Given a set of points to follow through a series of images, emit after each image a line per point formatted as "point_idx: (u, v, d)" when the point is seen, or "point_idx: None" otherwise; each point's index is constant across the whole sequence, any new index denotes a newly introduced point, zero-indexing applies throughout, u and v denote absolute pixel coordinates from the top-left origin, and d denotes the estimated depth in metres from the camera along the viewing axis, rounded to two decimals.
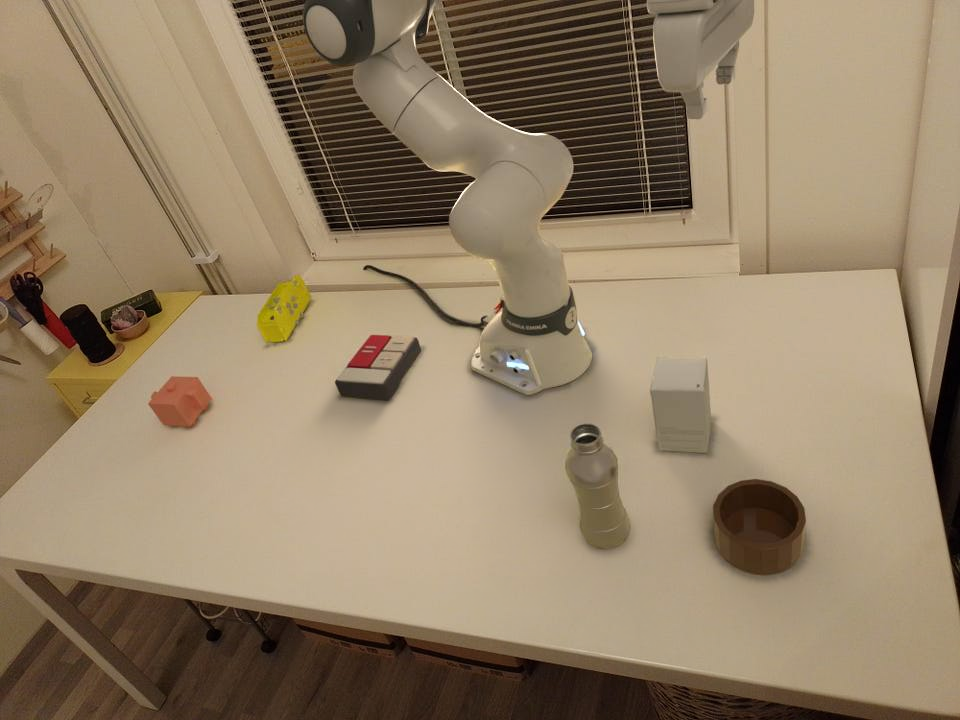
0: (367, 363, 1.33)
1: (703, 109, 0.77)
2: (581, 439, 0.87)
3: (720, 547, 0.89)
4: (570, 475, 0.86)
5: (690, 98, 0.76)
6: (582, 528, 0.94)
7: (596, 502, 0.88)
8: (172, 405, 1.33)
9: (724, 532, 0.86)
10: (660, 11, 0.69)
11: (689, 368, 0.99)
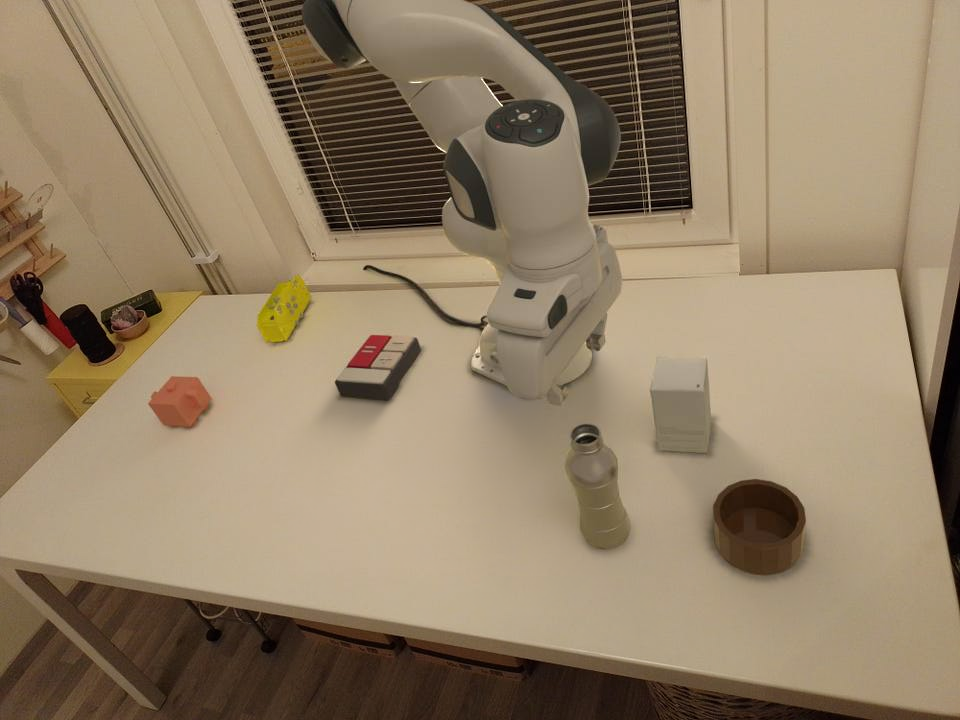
0: (367, 363, 1.33)
1: (562, 398, 0.75)
2: (581, 439, 0.87)
3: (720, 547, 0.89)
4: (570, 475, 0.86)
5: None
6: (582, 528, 0.94)
7: (596, 502, 0.88)
8: (172, 405, 1.33)
9: (724, 532, 0.86)
10: (501, 329, 0.67)
11: (689, 368, 0.99)
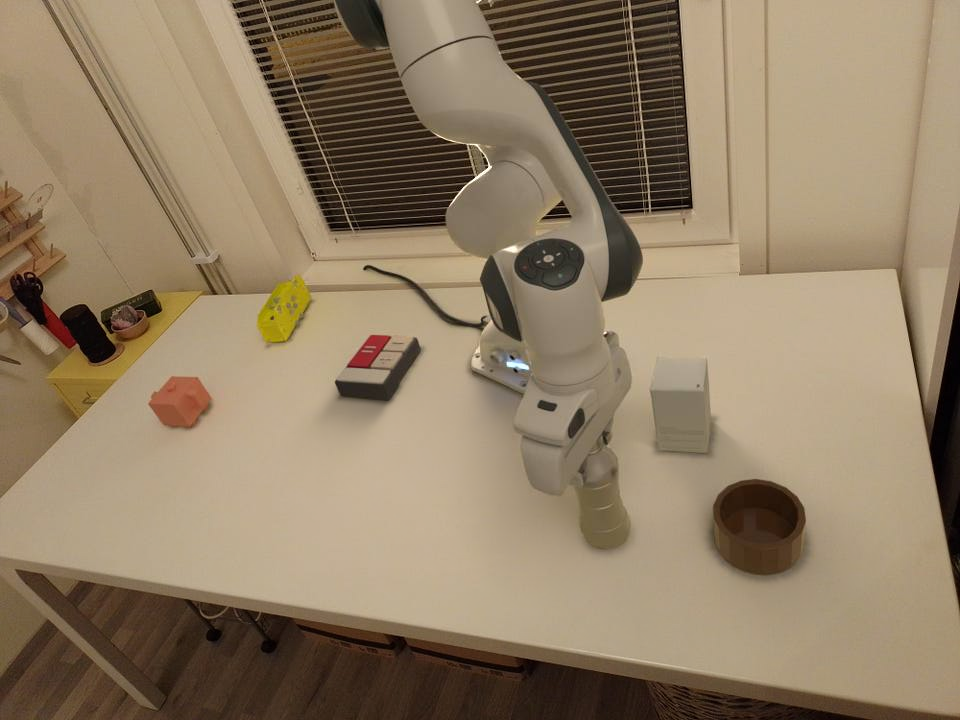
0: (367, 363, 1.33)
1: (582, 481, 0.83)
2: None
3: (720, 547, 0.89)
4: None
5: None
6: (582, 528, 0.94)
7: (597, 503, 0.88)
8: (172, 405, 1.33)
9: (724, 532, 0.86)
10: (525, 436, 0.75)
11: (689, 368, 0.99)
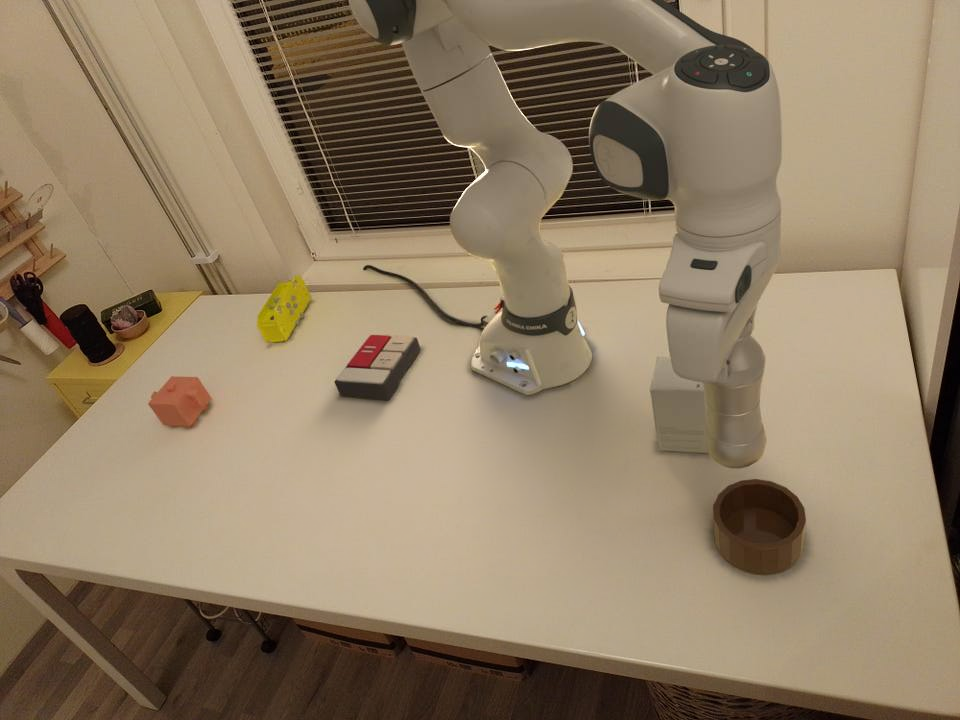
0: (366, 363, 1.33)
1: (727, 375, 0.69)
2: None
3: (720, 547, 0.89)
4: None
5: None
6: (709, 444, 0.79)
7: (736, 407, 0.73)
8: (172, 405, 1.33)
9: (724, 532, 0.86)
10: (674, 304, 0.60)
11: None
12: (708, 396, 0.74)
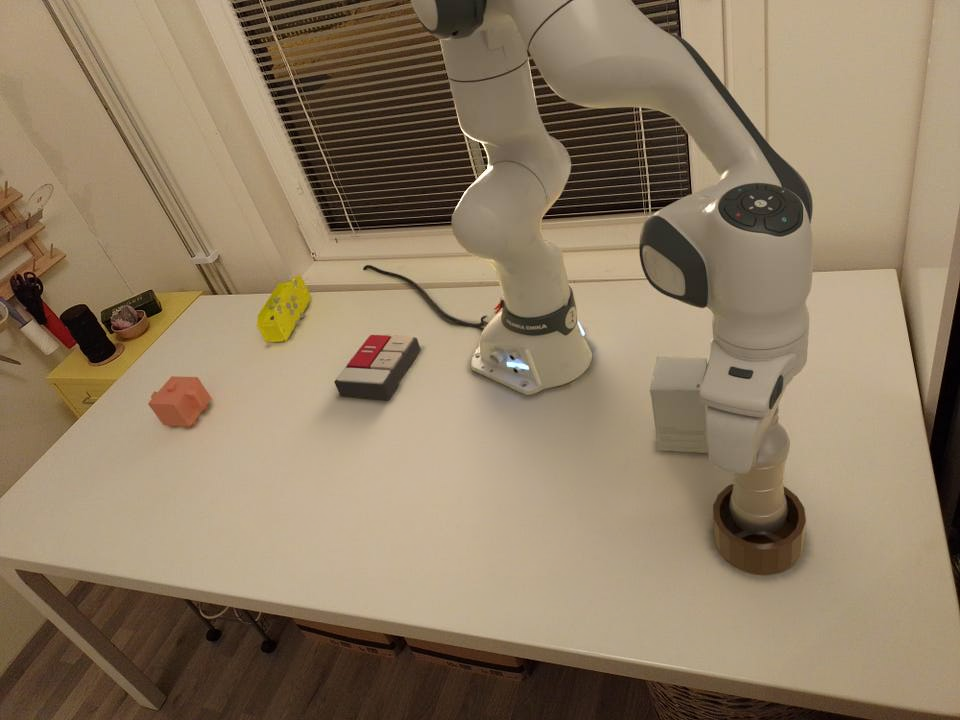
0: (366, 363, 1.33)
1: (756, 459, 0.76)
2: None
3: (720, 547, 0.89)
4: None
5: None
6: (736, 513, 0.86)
7: (762, 484, 0.80)
8: (172, 405, 1.33)
9: (724, 532, 0.86)
10: (713, 407, 0.67)
11: (689, 368, 0.99)
12: None
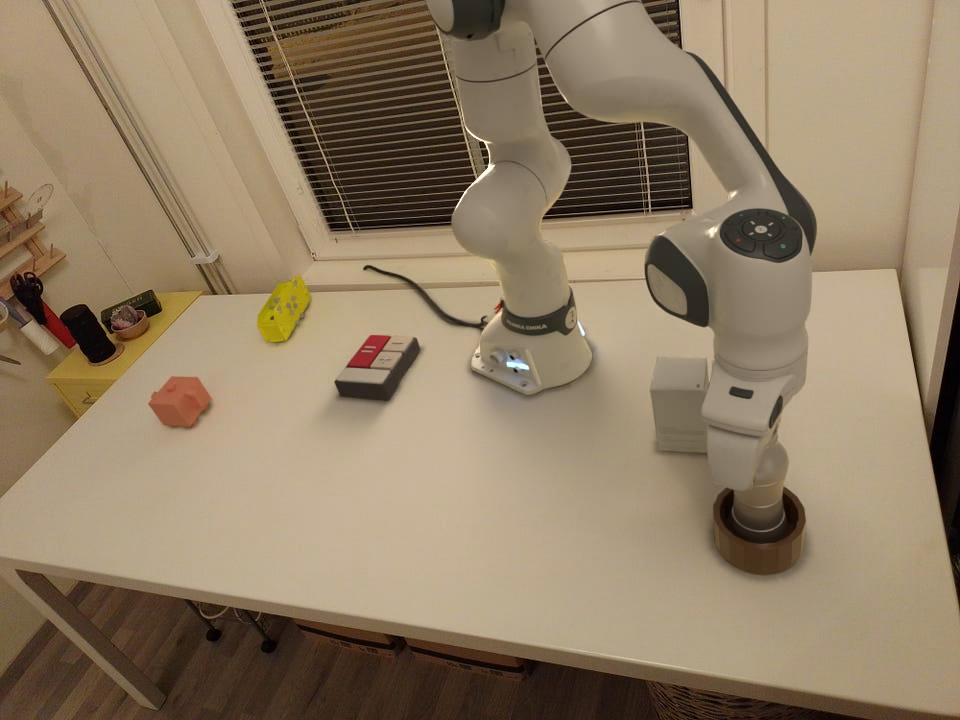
0: (366, 363, 1.33)
1: (752, 483, 0.76)
2: None
3: (720, 547, 0.89)
4: None
5: None
6: (736, 527, 0.87)
7: (761, 501, 0.82)
8: (172, 405, 1.33)
9: (724, 532, 0.86)
10: (714, 426, 0.69)
11: (689, 368, 0.99)
12: None
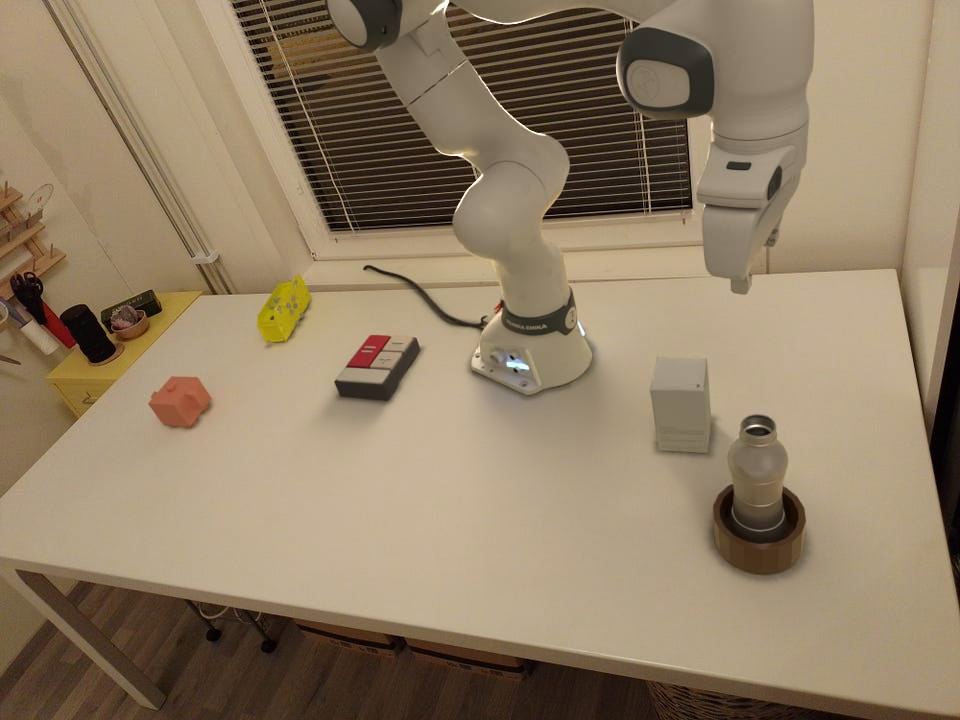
0: (366, 363, 1.33)
1: (748, 286, 0.74)
2: (748, 431, 0.80)
3: (720, 547, 0.89)
4: (737, 470, 0.80)
5: None
6: (736, 527, 0.87)
7: (761, 499, 0.82)
8: (172, 405, 1.33)
9: (724, 532, 0.86)
10: (710, 203, 0.66)
11: (689, 368, 0.99)
12: (736, 488, 0.83)
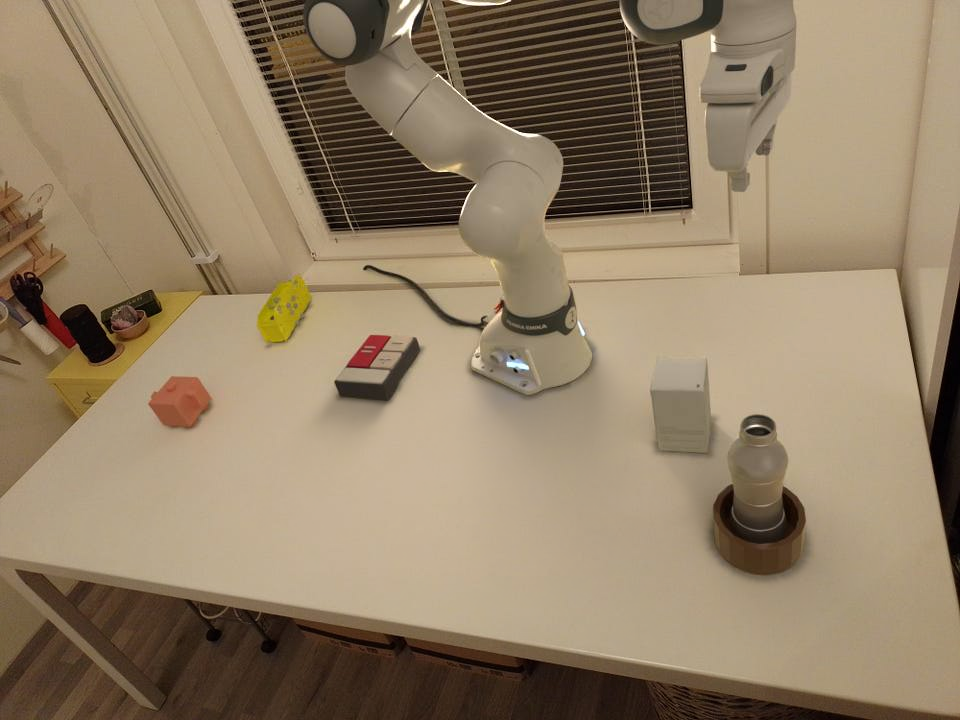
0: (366, 363, 1.33)
1: (747, 183, 0.84)
2: (748, 431, 0.80)
3: (720, 547, 0.89)
4: (737, 470, 0.80)
5: (735, 174, 0.83)
6: (736, 527, 0.87)
7: (761, 499, 0.82)
8: (172, 405, 1.33)
9: (724, 532, 0.86)
10: (712, 102, 0.76)
11: (689, 368, 0.99)
12: (736, 488, 0.83)
